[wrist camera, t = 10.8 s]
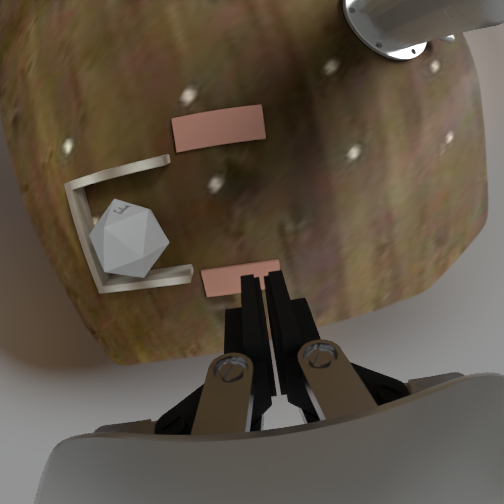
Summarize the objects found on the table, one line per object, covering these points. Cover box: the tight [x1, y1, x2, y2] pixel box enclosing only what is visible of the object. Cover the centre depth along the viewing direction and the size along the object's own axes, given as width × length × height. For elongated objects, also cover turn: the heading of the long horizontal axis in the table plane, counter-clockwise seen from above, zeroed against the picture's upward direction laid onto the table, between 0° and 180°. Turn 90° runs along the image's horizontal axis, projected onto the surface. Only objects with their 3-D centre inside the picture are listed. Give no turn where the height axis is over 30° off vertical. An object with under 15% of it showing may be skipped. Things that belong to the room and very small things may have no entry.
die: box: [89, 199, 170, 278], centre depth 29 cm, size 8×9×10 cm
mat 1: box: [172, 104, 266, 152], centre depth 28 cm, size 10×4×1 cm, turn 97°
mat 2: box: [201, 259, 280, 297], centre depth 36 cm, size 10×4×1 cm, turn 97°
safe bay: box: [64, 154, 194, 294], centre depth 31 cm, size 13×15×3 cm
